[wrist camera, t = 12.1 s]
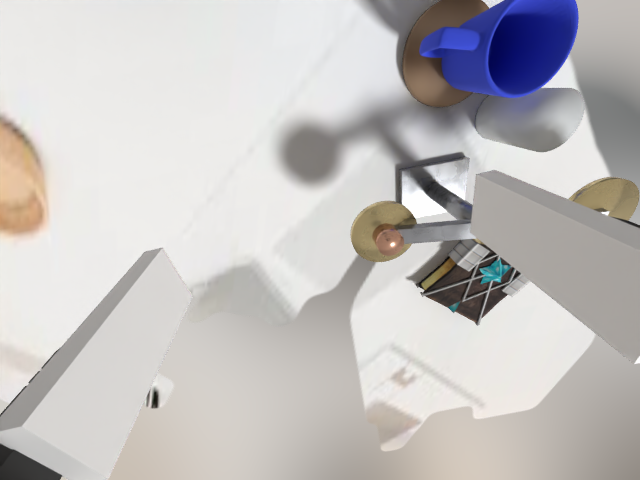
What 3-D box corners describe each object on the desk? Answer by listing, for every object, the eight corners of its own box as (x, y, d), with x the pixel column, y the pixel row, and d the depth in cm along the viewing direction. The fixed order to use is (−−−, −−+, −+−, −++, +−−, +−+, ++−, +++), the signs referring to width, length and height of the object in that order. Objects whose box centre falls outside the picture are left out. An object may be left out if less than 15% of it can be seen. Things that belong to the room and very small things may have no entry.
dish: (402, 7, 30) (406, 4, 29) (497, -11, 30) (505, -15, 29) (402, 113, 35) (406, 114, 34) (483, 98, 35) (489, 98, 34)
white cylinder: (478, 93, 35) (532, 94, 27) (525, 84, 35) (593, 82, 27) (472, 143, 38) (519, 156, 30) (515, 134, 38) (573, 146, 30)
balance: (334, 182, 39) (359, 233, 25) (530, 144, 39) (664, 174, 25) (341, 229, 43) (365, 296, 29) (518, 194, 43) (628, 245, 29)
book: (468, 313, 57) (483, 331, 53) (412, 284, 51) (423, 302, 47) (555, 237, 49) (581, 251, 45) (500, 192, 43) (523, 204, 39)
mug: (410, 3, 29) (462, -34, 20) (510, 17, 30) (599, -12, 21) (394, 90, 33) (432, 90, 24) (483, 98, 34) (549, 101, 25)
